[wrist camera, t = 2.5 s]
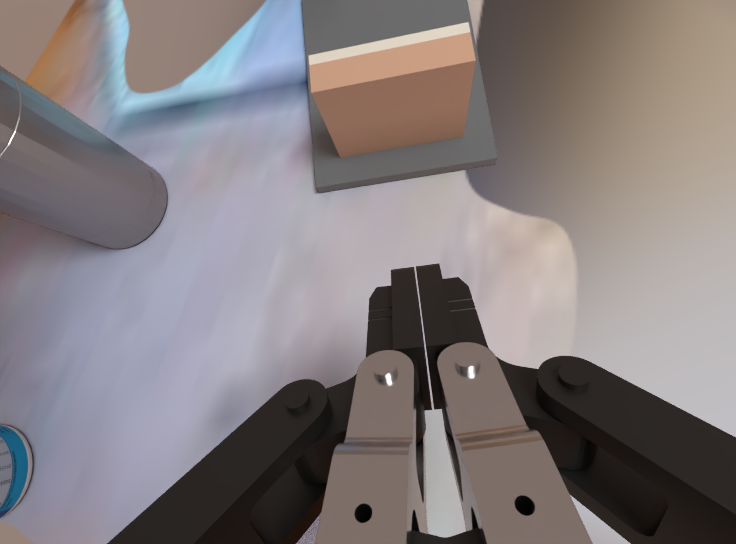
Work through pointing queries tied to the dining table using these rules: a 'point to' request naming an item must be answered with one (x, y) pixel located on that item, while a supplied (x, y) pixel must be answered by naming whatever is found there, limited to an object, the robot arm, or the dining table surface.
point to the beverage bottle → (13, 468)
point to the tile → (395, 90)
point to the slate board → (374, 23)
